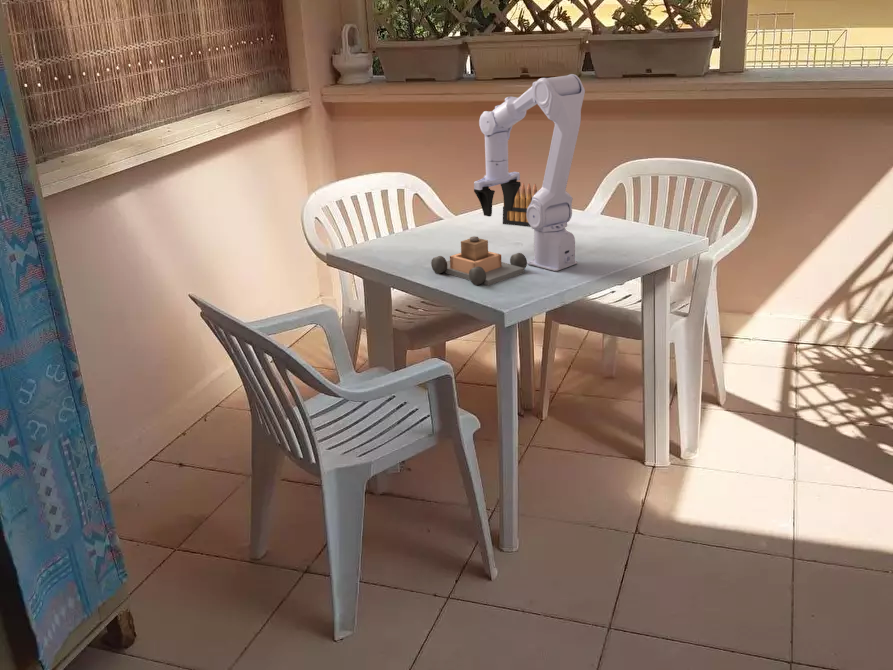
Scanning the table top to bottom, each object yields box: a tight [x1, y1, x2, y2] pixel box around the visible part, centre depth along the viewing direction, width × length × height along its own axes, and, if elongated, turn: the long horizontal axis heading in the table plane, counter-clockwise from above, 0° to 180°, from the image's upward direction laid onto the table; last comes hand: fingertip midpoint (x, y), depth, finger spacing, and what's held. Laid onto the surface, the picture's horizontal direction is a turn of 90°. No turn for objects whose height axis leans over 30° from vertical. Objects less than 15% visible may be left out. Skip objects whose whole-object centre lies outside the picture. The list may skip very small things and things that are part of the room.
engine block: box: [460, 235, 489, 261], centre depth 208 cm, size 4×4×7 cm
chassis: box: [430, 250, 528, 286], centre depth 209 cm, size 18×15×4 cm
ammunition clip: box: [502, 182, 538, 228], centre depth 245 cm, size 11×2×12 cm, turn 60°
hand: (498, 212), depth 225 cm, fingers open, 7 cm apart
